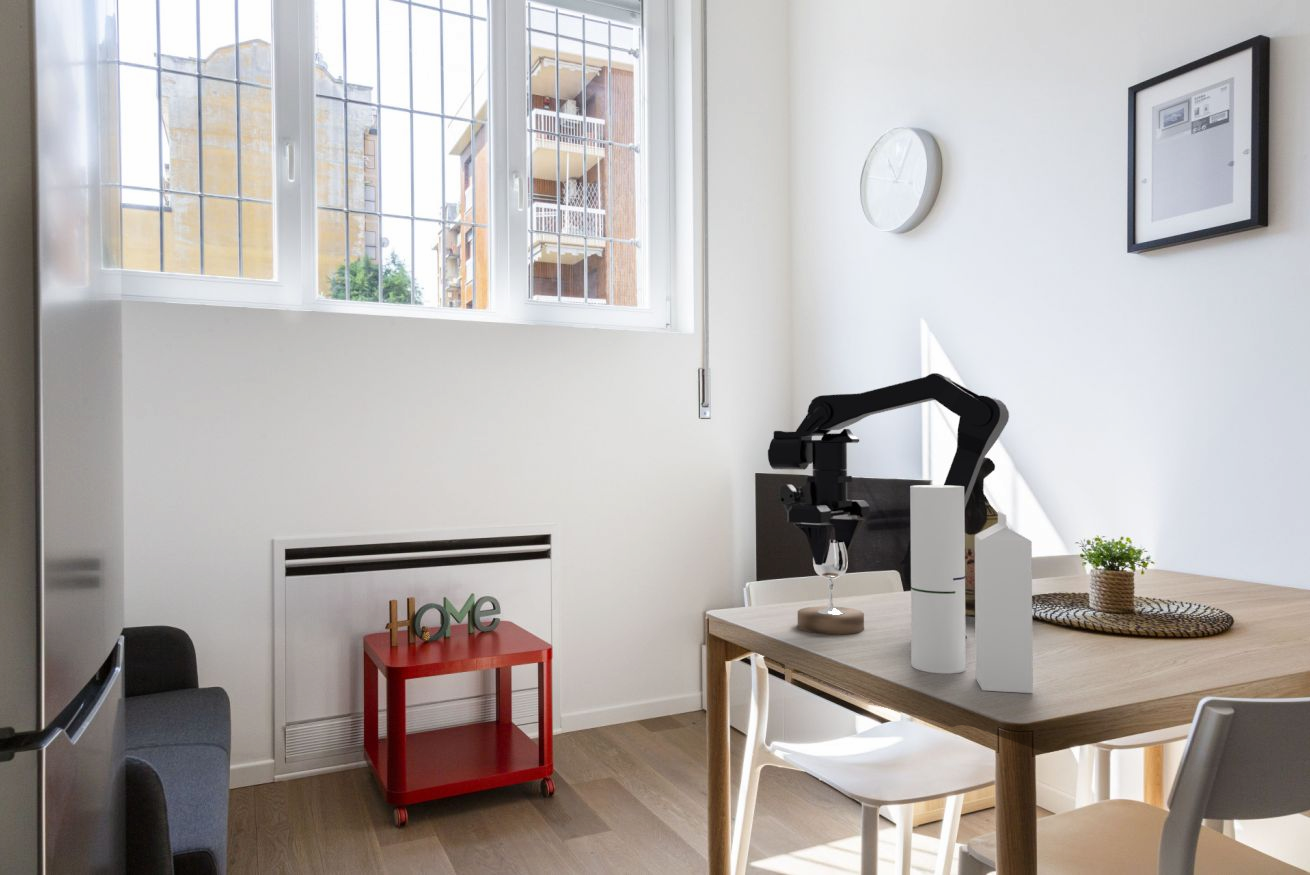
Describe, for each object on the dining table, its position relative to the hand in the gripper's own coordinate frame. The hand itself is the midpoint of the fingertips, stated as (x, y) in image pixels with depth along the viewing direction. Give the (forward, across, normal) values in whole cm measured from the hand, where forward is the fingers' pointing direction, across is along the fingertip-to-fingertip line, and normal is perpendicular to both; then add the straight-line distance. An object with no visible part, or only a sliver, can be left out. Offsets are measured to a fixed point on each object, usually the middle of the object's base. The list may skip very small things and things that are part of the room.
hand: (830, 562), depth 145 cm
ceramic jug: (+11, -28, +15) cm, 34 cm away
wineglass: (+9, 0, 0) cm, 9 cm away
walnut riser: (+11, 0, 0) cm, 11 cm away
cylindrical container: (+11, +14, +24) cm, 30 cm away
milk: (+11, +18, +34) cm, 40 cm away
